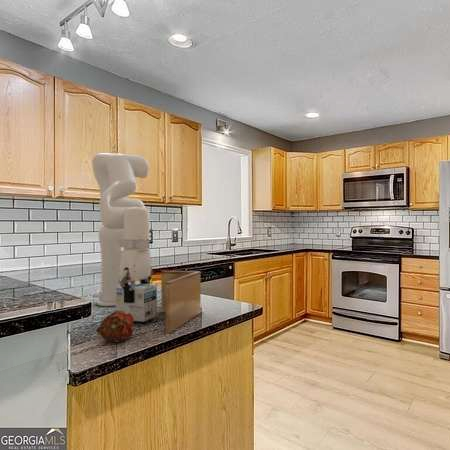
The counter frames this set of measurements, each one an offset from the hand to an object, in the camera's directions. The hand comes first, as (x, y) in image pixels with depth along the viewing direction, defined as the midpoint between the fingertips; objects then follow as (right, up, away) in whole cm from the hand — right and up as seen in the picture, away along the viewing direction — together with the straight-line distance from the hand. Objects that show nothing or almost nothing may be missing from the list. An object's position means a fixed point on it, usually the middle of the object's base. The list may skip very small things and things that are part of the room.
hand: (136, 299), depth 105 cm
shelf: (+9, -7, 0) cm, 11 cm away
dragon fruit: (+3, -7, -16) cm, 18 cm away
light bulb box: (0, -6, 0) cm, 6 cm away
